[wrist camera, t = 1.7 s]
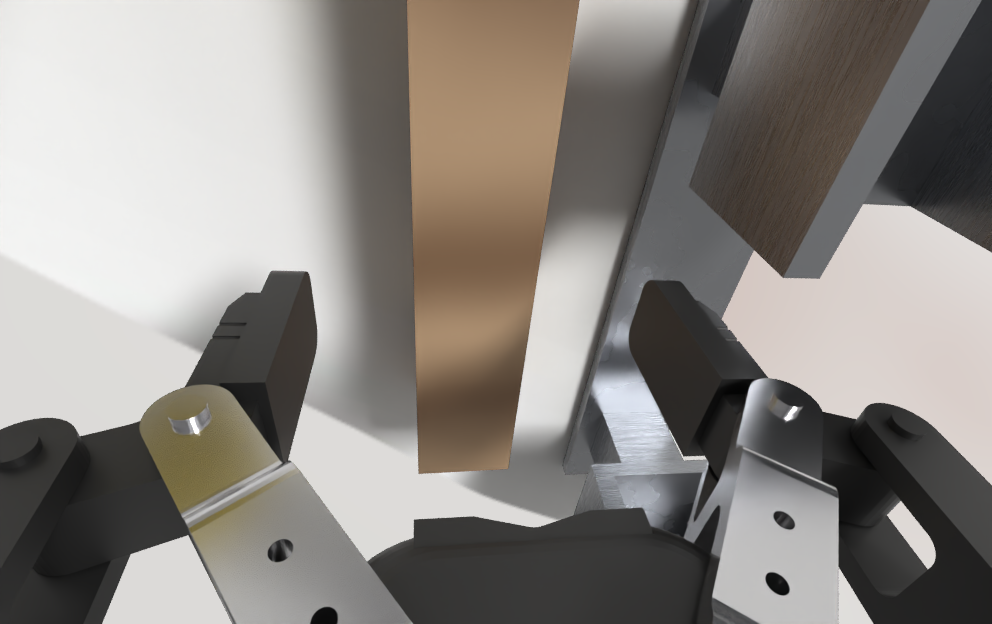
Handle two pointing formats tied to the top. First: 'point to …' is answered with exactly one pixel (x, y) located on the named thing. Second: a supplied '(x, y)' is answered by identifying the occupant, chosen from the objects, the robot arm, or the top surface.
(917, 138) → the bracket stand
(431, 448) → the rail
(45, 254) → the top surface
